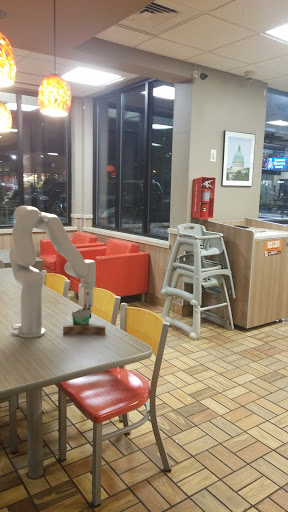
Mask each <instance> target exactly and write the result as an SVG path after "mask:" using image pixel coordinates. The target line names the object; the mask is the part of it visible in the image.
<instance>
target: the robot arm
mask: <svg viewBox="0 0 288 512" xmlns="http://www.w3.org/2000/svg"><path fill="white" fill-rule="evenodd" d="M13 217H14V219H15V222H14V224H13V227H12V233H11V235H12V240H13V241H12V242H13V246H11V248H10V249H9V255H8V256H9V263H10V265H11V271H12V275H13V277H14V279H15V281H16V282H17V283H18V284H19V285H21V286H22V287H21V293H20V323H19V324H11V328H12V330H13V331H17V336H19V337H21V338H26V339H29V338H31V339H32V338H33V339H34V338H39V337H41V336H44V335H45V333H46V329H45V328H44V327H43V297H42V296H43V289H44V288H43V287H44V280H45V279H44V275H43V274H42V272H41V271H40V270H39V269H37V268H34V267H33V265H34V264H35V263H36V261H37V253H36V248H35V243H34V240H33V231H34V229H37V230H40V231H44V232H45V233H46V234H47V237H48V238H49V241H50V243H51V244H52V247H53V248H54V250H55V251H56V252H57V253H58V254H59V255H61V256H62V257H64V259H65V260H66V263H65V265H64V266H63V267H64V268H63V269H64V271H65V273H66V274H67V275H70V276H71V277H74V278H76V279H80V288H82V302H83V303H82V304H83V308H84V307H85V305H86V308H88V307H90V309H91V310H92V308H93V307H94V302H95V301H94V300H95V299H94V297H95V295H94V294H95V293H94V292H95V291H94V288H96V279H97V278H96V271H97V270H96V268H97V267H96V260H93V259H84V256H83V255H82V254H81V252H80V251H79V250H78V248H77V247H76V245H75V244H74V243H73V242H72V240H71V238H70V237H69V235H68V232H67V231H66V229H65V226H64V225H63V223H62V221H61V218H59V216H57V215H56V214H53V213H47V212H42V211H39V209H38V208H36V207H34V206H29V205H20V206H18V207H16V209H14V212H13ZM90 319H92V313H91V314H90V317H89V320H90Z"/></svg>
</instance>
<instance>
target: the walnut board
mask: <svg viewBox="0 0 288 512" xmlns="http://www.w3.org/2000/svg"><path fill="white" fill-rule="evenodd" d="M62 327H63V328H62V335H63V336H64V335H65V336H67V335H68V336H106V325H90V324H89V325H73V324H63V326H62Z"/></svg>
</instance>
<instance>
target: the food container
mask: <svg viewBox="0 0 288 512" xmlns="http://www.w3.org/2000/svg"><path fill="white" fill-rule="evenodd" d="M90 314H91V315H92V308H91V309H90V307H88V308H86V305H85V307H84V306H83V308H78V310H76V311H72V313H71V316H72V325H90V319H89V317H90Z"/></svg>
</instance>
